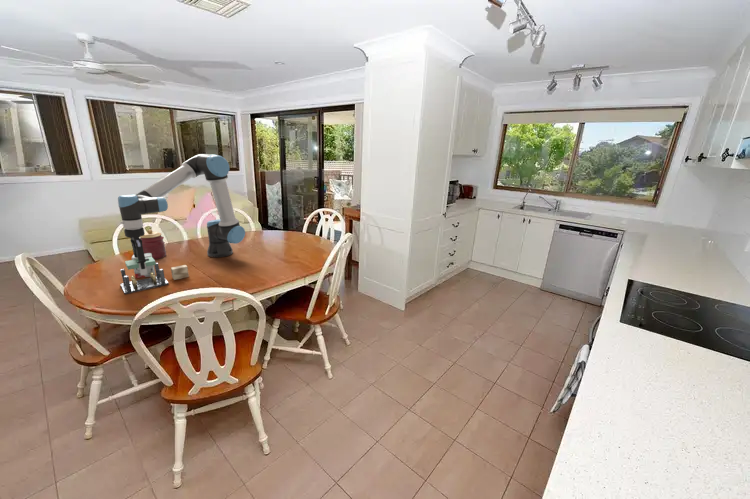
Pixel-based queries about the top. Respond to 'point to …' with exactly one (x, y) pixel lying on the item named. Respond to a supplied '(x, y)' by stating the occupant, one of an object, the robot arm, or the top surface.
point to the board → (133, 264)
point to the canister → (153, 244)
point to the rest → (179, 272)
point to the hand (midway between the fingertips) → (142, 271)
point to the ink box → (149, 268)
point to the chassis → (143, 281)
